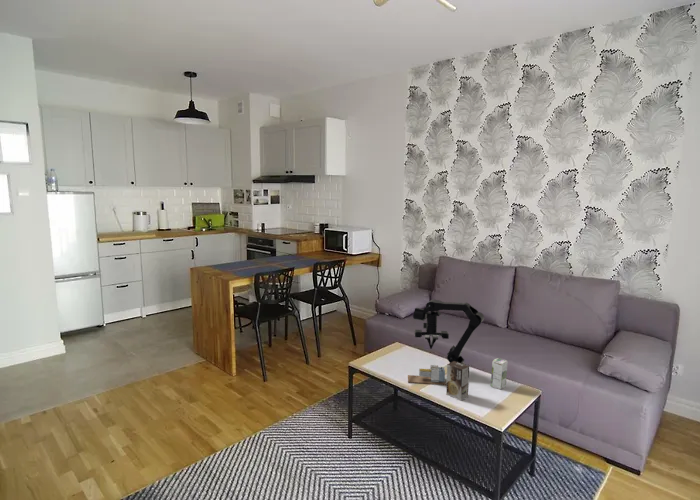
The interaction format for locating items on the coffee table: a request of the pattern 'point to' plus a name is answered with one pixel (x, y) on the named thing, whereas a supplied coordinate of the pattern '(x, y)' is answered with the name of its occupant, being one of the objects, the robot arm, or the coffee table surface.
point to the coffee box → (457, 380)
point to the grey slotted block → (434, 373)
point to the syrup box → (499, 373)
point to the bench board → (423, 380)
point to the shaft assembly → (428, 373)
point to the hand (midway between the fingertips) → (430, 348)
